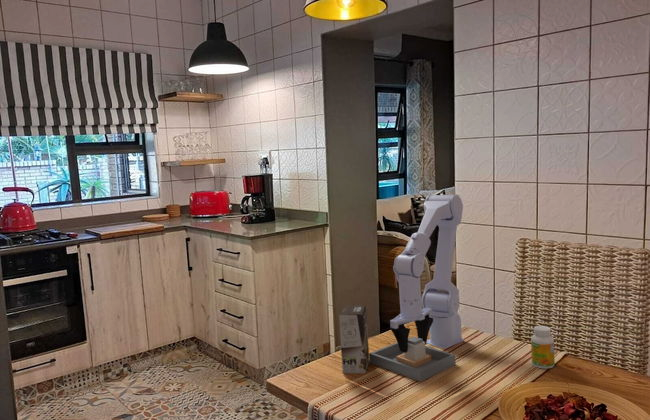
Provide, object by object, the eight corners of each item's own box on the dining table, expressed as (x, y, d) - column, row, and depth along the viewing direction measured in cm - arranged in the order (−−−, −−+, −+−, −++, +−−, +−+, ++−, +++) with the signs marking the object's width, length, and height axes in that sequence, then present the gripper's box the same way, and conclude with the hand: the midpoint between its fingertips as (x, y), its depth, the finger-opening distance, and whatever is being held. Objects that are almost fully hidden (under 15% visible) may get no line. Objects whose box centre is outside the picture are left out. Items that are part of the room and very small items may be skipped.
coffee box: (366, 374, 132) (362, 314, 131) (342, 374, 134) (337, 314, 132) (370, 360, 141) (366, 304, 140) (347, 360, 143) (343, 304, 141)
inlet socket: (412, 353, 143) (412, 349, 143) (431, 359, 138) (431, 355, 138) (396, 360, 139) (396, 356, 139) (415, 367, 134) (414, 362, 134)
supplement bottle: (528, 366, 131) (527, 329, 130) (536, 359, 134) (535, 323, 134) (550, 370, 127) (549, 333, 126) (557, 363, 131) (556, 326, 130)
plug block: (414, 356, 141) (413, 335, 140) (425, 360, 138) (424, 339, 137) (404, 361, 138) (403, 339, 138) (416, 364, 135) (414, 343, 135)
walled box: (404, 349, 148) (404, 339, 148) (455, 365, 134) (455, 354, 134) (369, 363, 139) (369, 353, 139) (420, 383, 125) (419, 371, 125)
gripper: (403, 307, 129) (406, 359, 131) (439, 295, 138) (442, 343, 140) (383, 302, 135) (386, 352, 136) (419, 291, 144) (422, 337, 145)
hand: (413, 347), depth 138 cm, fingers open, 7 cm apart
